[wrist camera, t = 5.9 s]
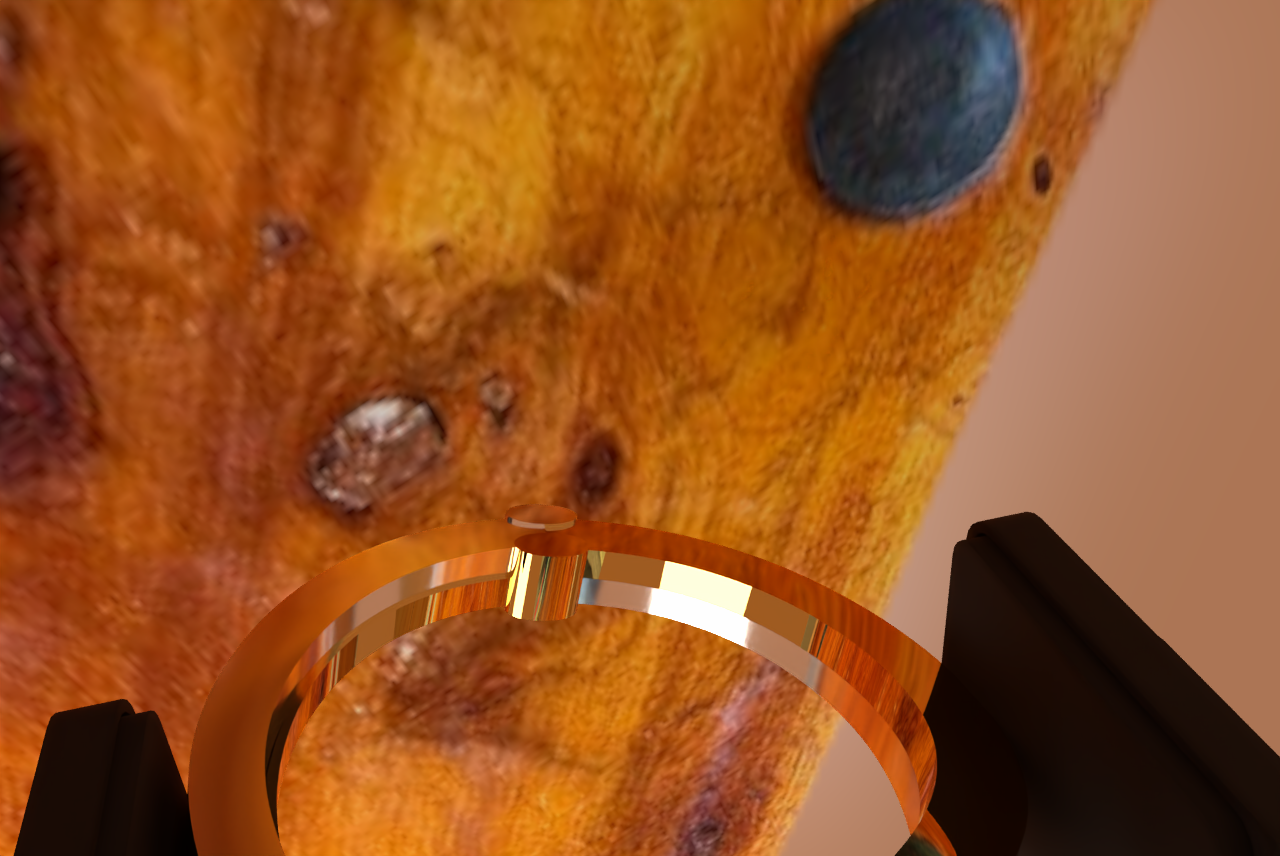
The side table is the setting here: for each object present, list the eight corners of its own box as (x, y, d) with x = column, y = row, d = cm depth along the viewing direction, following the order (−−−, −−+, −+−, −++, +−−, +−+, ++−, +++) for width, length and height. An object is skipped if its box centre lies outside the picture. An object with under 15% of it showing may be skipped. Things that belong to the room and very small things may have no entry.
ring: (838, 427, 14) (1350, 1050, 7) (774, 640, 15) (1153, 1328, 8) (217, 397, 12) (109, 1250, 5) (212, 648, 13) (122, 1578, 6)
